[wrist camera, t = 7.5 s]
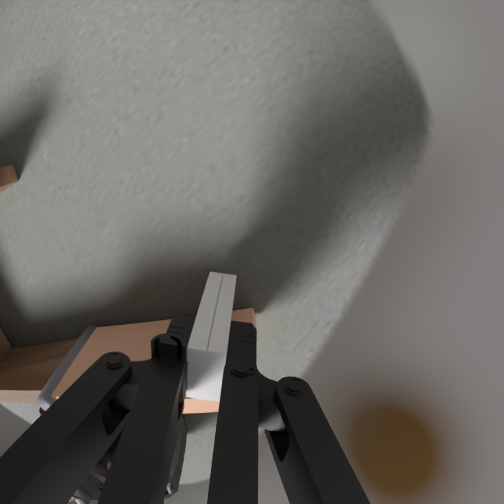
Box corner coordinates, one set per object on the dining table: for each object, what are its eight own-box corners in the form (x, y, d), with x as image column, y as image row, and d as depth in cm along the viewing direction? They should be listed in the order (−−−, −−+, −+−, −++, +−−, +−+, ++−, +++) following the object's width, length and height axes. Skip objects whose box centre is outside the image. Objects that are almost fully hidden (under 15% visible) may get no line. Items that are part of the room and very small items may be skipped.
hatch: (252, 303, 19) (249, 395, 12) (258, 330, 20) (258, 423, 13) (83, 325, 20) (32, 395, 13) (94, 347, 21) (50, 420, 14)
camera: (146, 355, 21) (100, 470, 12) (205, 436, 25) (190, 535, 15) (35, 375, 23) (-15, 451, 14) (94, 443, 27) (65, 516, 17)
